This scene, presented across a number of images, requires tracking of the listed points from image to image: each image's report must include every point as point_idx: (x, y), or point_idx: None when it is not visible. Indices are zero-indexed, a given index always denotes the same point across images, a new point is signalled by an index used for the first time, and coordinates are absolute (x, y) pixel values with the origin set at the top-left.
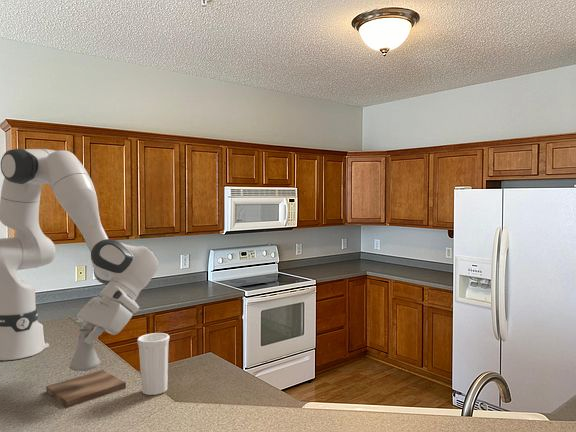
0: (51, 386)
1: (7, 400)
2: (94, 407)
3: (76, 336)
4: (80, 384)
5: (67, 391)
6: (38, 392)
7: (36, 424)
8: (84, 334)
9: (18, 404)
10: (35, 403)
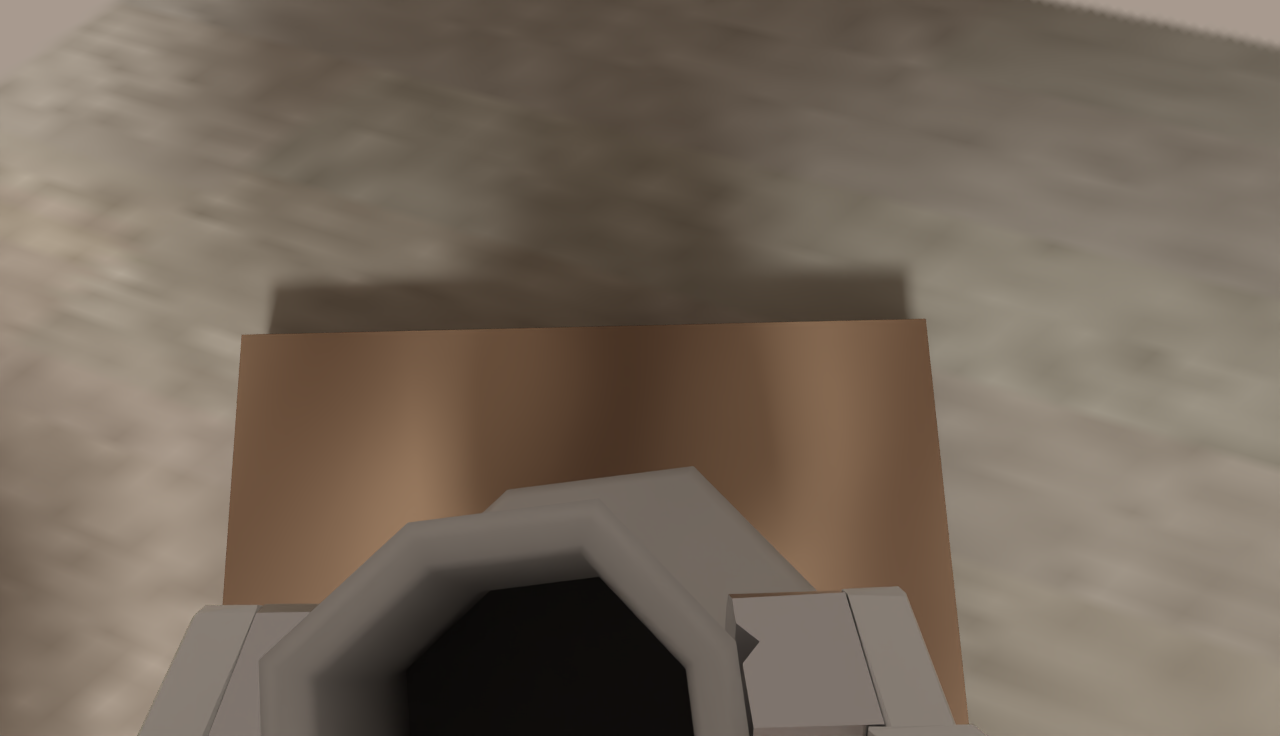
0: (868, 359)
1: (964, 5)
2: (7, 571)
3: (896, 590)
4: None
5: (542, 441)
6: (960, 275)
7: (145, 40)
8: (364, 656)
9: (769, 50)
10: (659, 167)
